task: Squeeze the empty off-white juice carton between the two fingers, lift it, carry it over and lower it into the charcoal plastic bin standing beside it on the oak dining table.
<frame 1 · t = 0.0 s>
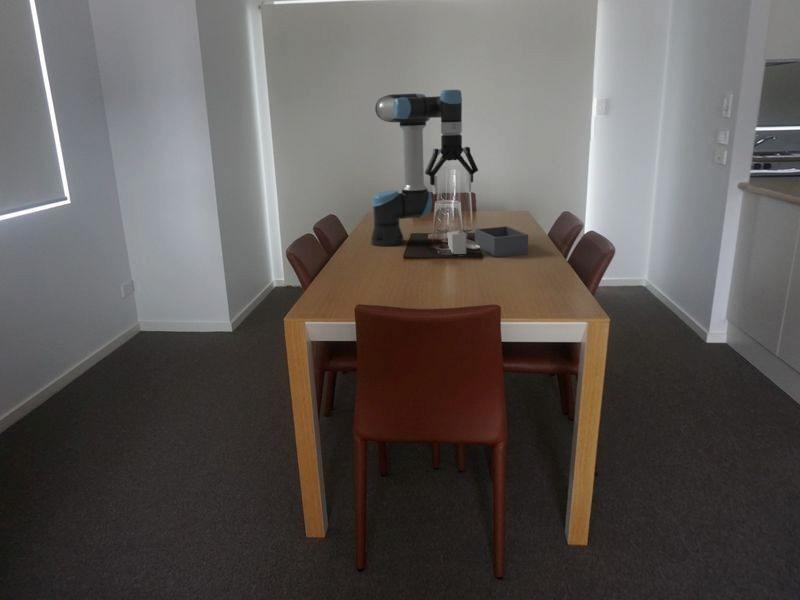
hand: (451, 192, 226), 28 cm above the table, tool pointing down, fingers open, 13 cm apart
bin: (500, 250, 253), on the table
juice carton: (456, 253, 250), on the table
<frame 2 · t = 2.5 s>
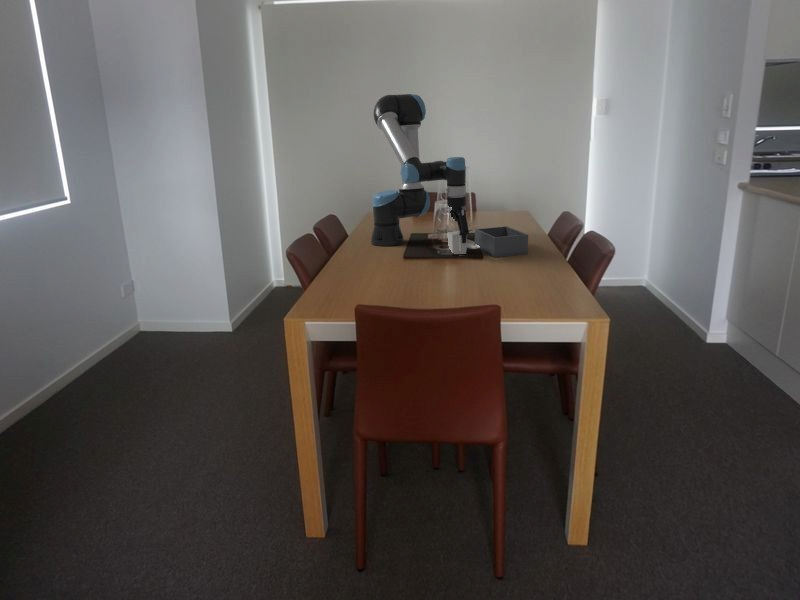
hand: (457, 247, 249), 3 cm above the table, tool pointing down, fingers open, 13 cm apart
nothing on the table moved.
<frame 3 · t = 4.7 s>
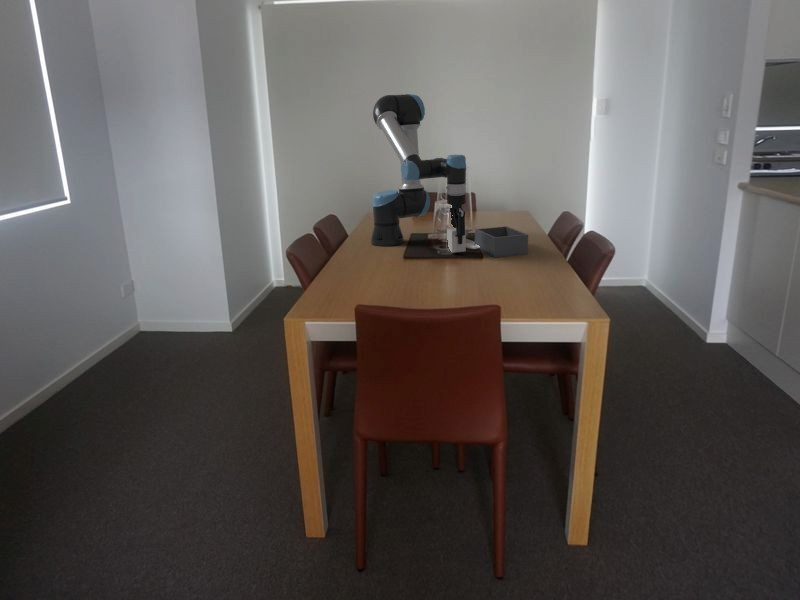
hand: (456, 249, 250), 2 cm above the table, tool pointing down, fingers closed on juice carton, 6 cm apart
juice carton: (456, 250, 250), point 1 cm above the table, touching gripper
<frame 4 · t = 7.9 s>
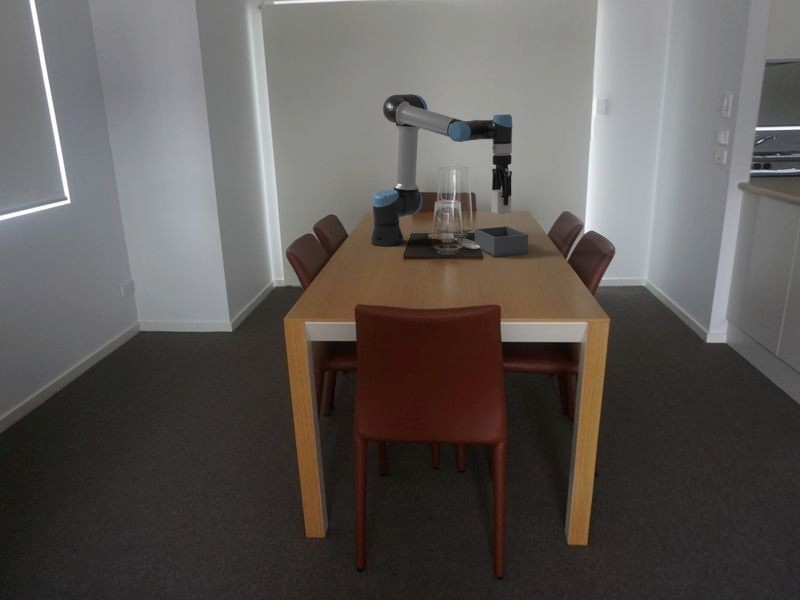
hand: (501, 211, 248), 17 cm above the table, tool pointing down, fingers closed on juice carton, 6 cm apart
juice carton: (501, 212, 248), point 16 cm above the table, touching gripper
when the fingers open (3 cm above the table, at t = 10.9 s): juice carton drops 2 cm, resting on bin.
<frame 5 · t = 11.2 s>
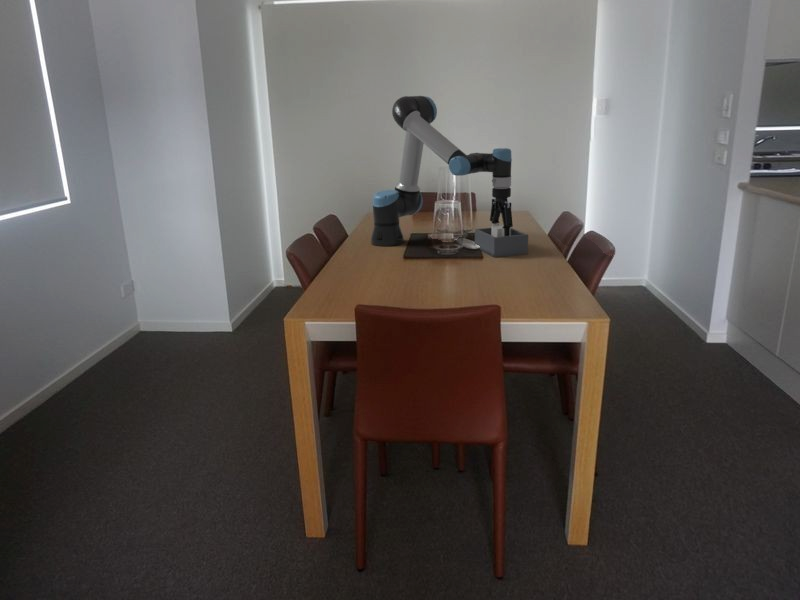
hand: (500, 240, 252), 4 cm above the table, tool pointing down, fingers open, 9 cm apart
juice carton: (500, 248, 253), point 1 cm above the table, touching bin
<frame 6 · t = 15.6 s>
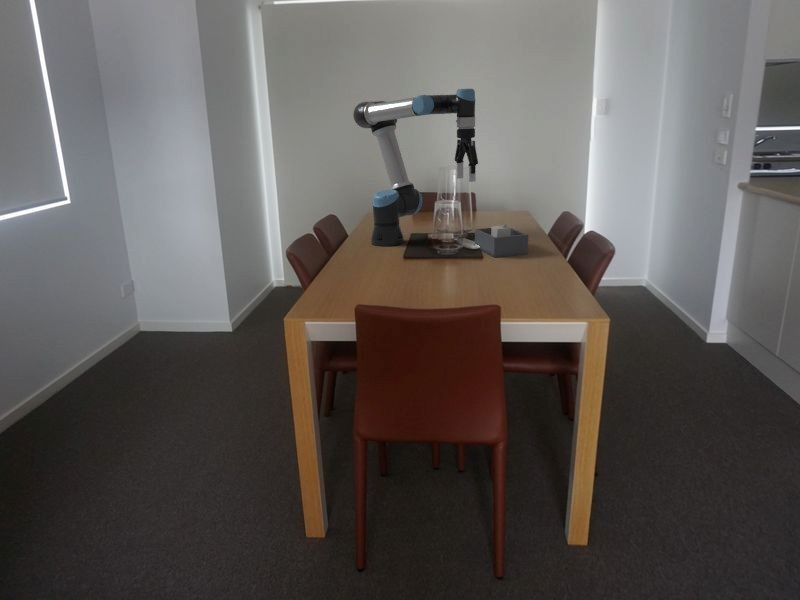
hand: (465, 180, 255), 29 cm above the table, tool pointing down, fingers open, 13 cm apart
nothing on the table moved.
at the end: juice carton inside the target area on the bin (0.2 cm from its centre), point 1.0 cm above the bin's base; the gripper is holding nothing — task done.
